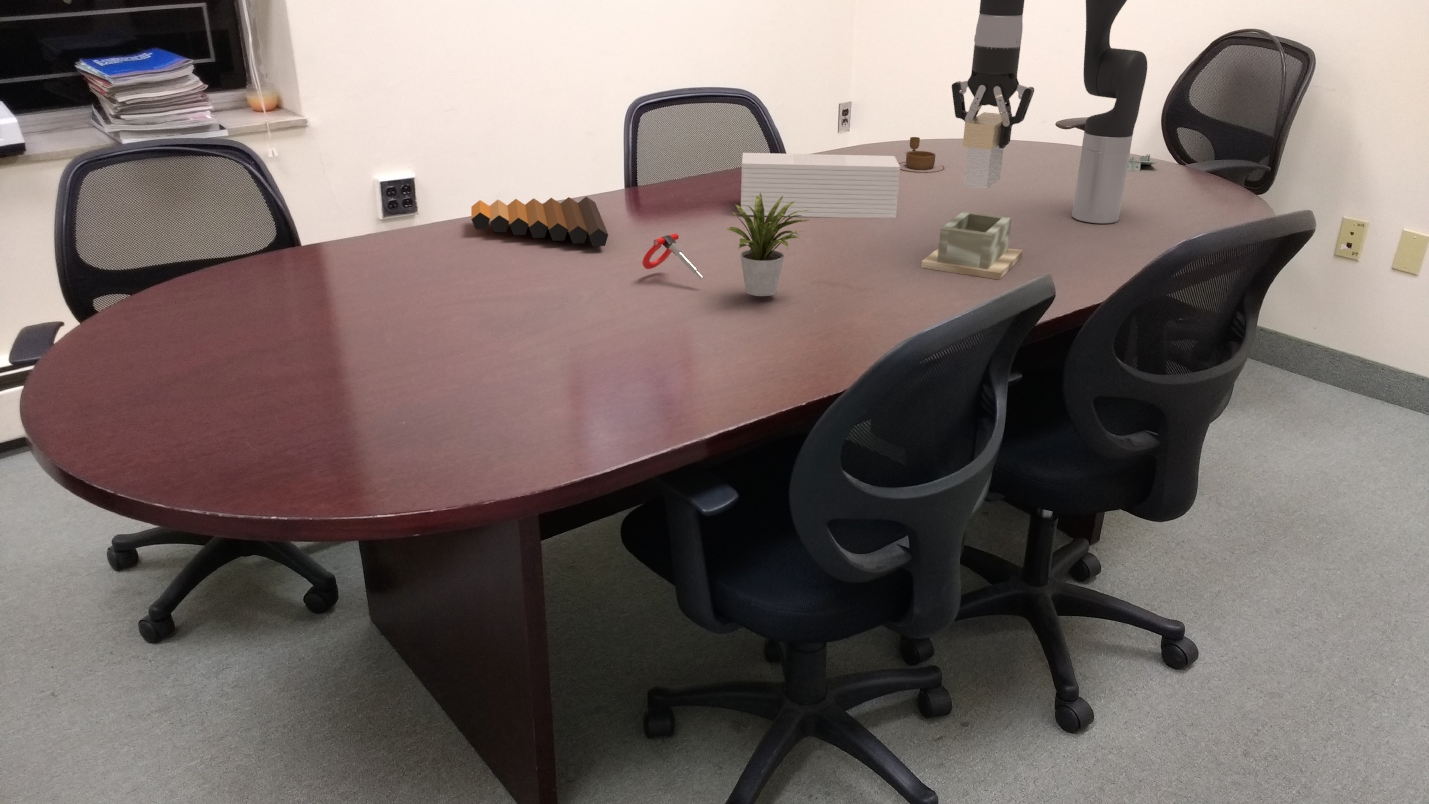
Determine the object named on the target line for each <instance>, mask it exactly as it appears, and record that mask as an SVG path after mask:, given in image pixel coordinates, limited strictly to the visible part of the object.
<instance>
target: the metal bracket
mask: <svg viewBox="0 0 1429 804" xmlns="http://www.w3.org/2000/svg"><path fill="white" fill-rule="evenodd" d="M1135 158H1136V156H1132V157H1131V158H1129V161H1128V167H1127V172H1129V171H1130V172H1131V173H1135V172H1141V165H1142V166H1143V165H1144V166H1145V165H1146V166H1152V165H1154V164H1155V165H1156V164H1157V163H1158V161H1151V154H1146V155H1142V156H1140V157H1139V160H1135Z"/></svg>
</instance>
